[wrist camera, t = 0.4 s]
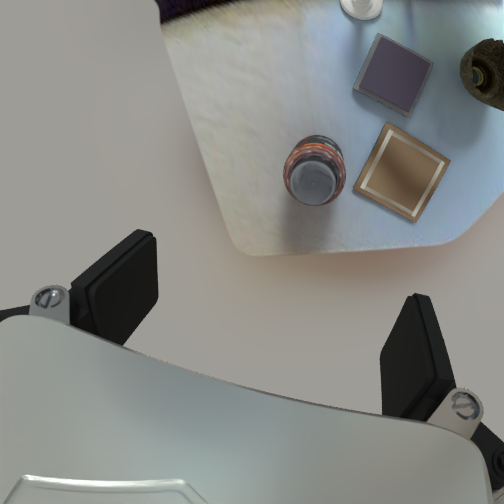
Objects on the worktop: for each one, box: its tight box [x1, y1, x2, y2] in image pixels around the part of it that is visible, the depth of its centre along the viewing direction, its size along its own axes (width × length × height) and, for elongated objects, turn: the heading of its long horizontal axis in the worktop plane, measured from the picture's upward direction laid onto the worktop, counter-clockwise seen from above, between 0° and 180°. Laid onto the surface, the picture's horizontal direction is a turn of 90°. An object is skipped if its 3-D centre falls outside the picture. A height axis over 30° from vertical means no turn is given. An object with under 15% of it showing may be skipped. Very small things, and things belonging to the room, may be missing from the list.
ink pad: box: [353, 33, 434, 118], centre depth 29 cm, size 8×7×2 cm
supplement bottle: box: [283, 135, 346, 206], centre depth 31 cm, size 6×6×11 cm
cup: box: [460, 38, 504, 111], centre depth 23 cm, size 8×7×8 cm
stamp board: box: [353, 122, 450, 223], centre depth 34 cm, size 9×9×1 cm
